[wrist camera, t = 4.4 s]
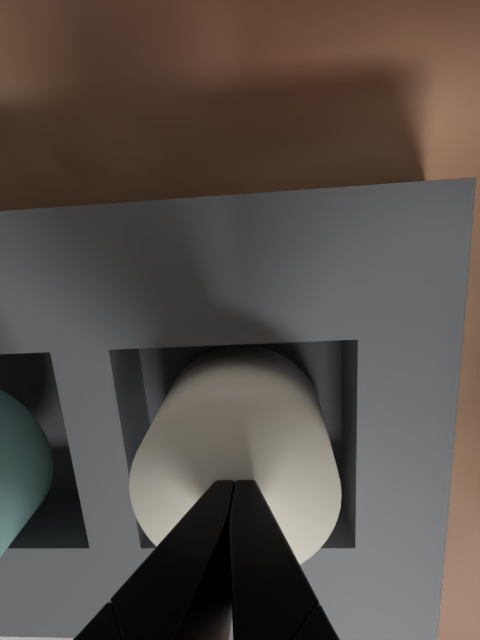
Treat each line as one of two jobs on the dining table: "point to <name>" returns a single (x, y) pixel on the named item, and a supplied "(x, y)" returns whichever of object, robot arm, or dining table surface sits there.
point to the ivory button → (240, 445)
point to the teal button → (21, 467)
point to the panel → (240, 329)
